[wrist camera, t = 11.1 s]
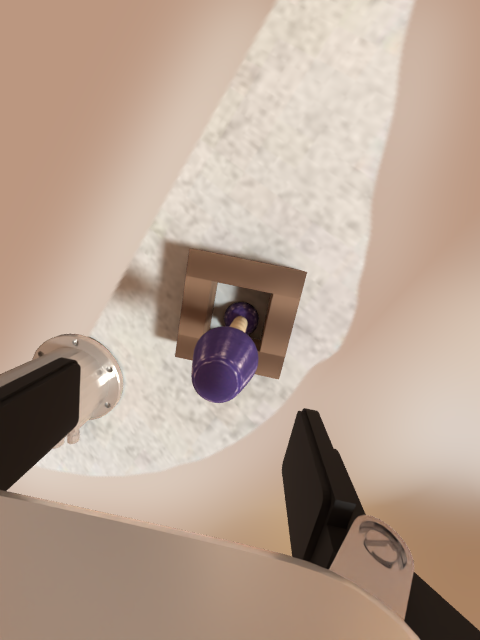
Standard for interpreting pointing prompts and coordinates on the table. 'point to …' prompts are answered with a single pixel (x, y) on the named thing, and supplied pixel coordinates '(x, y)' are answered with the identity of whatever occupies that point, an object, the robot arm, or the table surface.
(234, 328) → the toy lamp
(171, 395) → the table surface
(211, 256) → the socket block
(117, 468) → the table surface
